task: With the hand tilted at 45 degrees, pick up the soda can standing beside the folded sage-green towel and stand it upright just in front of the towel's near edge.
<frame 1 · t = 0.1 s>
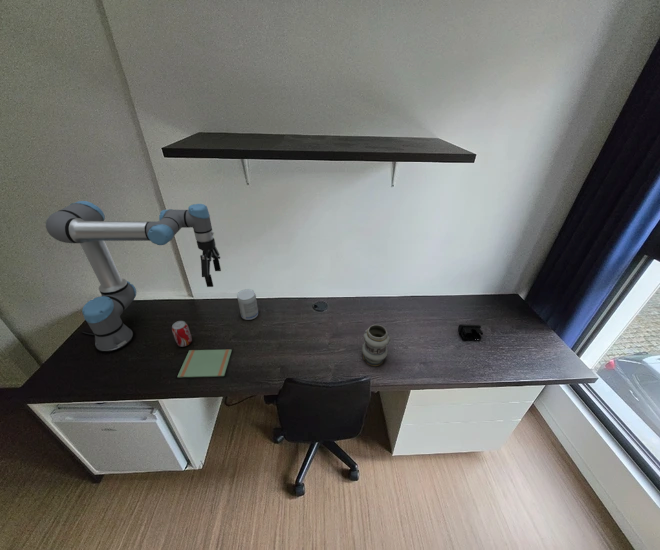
hand: (214, 278, 141), 28 cm above the table, tool pointing down, fingers open, 13 cm apart
soda can: (185, 343, 143), on the table
apothecary jar: (373, 358, 139), on the table
towel: (206, 363, 133), on the table
end cap: (468, 336, 153), on the table
supplement tub: (249, 315, 161), on the table
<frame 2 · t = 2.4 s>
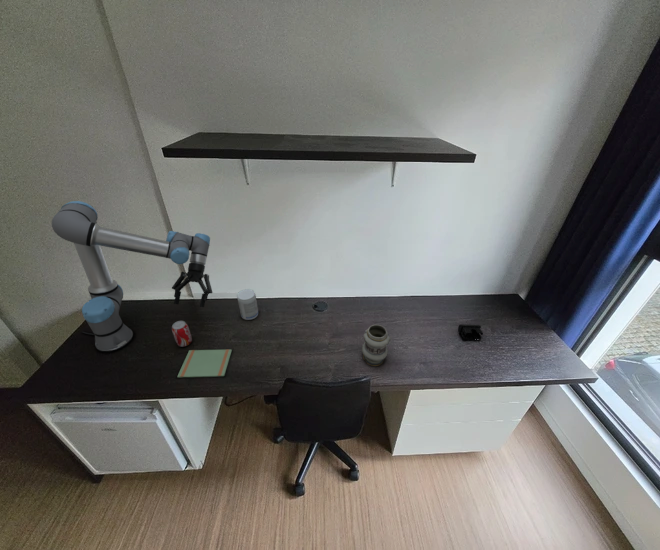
hand: (188, 305, 143), 15 cm above the table, tool tilted 45°, fingers open, 13 cm apart
nothing on the table moved.
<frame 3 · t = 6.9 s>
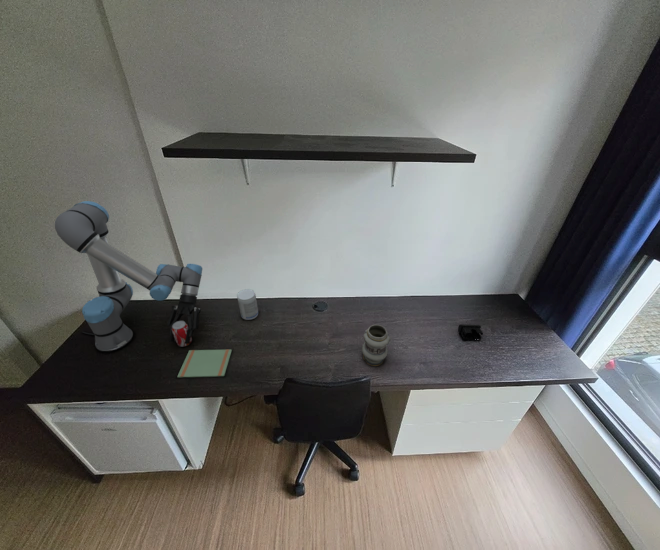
hand: (179, 342, 138), 4 cm above the table, tool tilted 45°, fingers closed on soda can, 7 cm apart
soda can: (185, 342, 143), on the table, touching gripper
everything else where it was.
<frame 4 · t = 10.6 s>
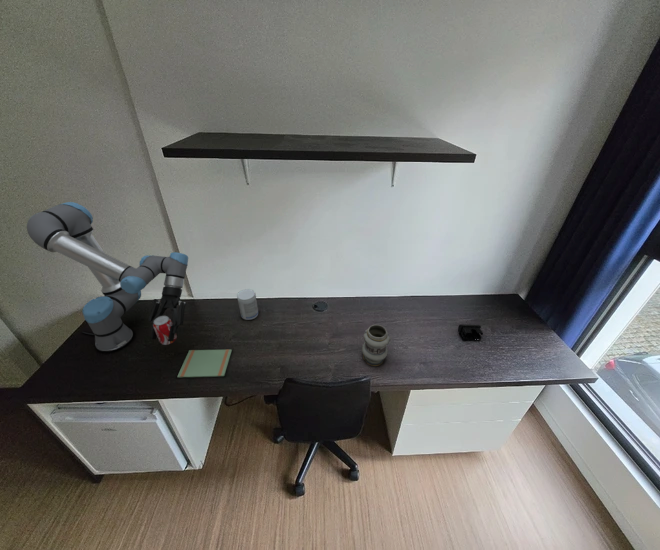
hand: (161, 340, 123), 16 cm above the table, tool tilted 45°, fingers closed on soda can, 7 cm apart
soda can: (169, 340, 128), point 12 cm above the table, touching gripper
everything else where it was.
when the fingers open (4 cm above the table, at t = 14.6 s): soda can stays where it is, on the table.
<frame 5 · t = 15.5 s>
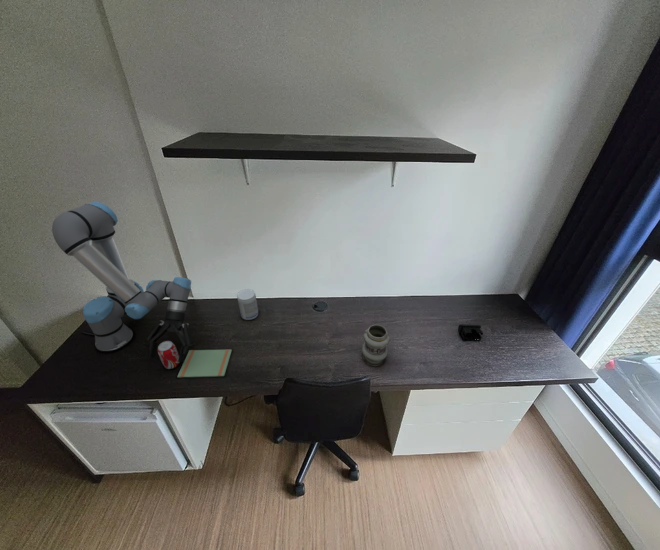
hand: (165, 359, 127), 6 cm above the table, tool tilted 45°, fingers open, 13 cm apart
soda can: (172, 364, 132), on the table
everything else where it was.
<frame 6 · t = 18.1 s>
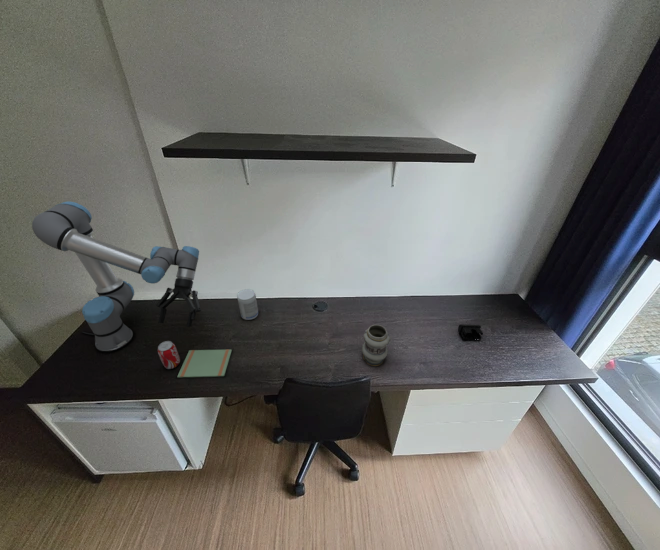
hand: (174, 325, 131), 15 cm above the table, tool tilted 45°, fingers open, 13 cm apart
nothing on the table moved.
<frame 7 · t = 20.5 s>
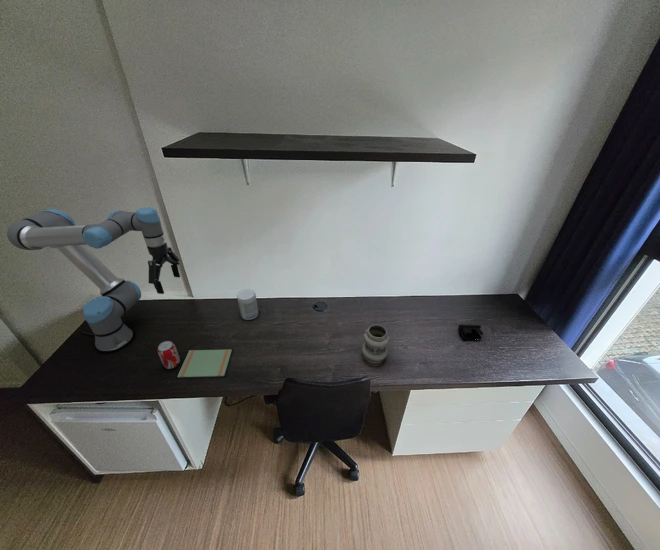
hand: (169, 284, 135), 28 cm above the table, tool pointing down, fingers open, 13 cm apart
nothing on the table moved.
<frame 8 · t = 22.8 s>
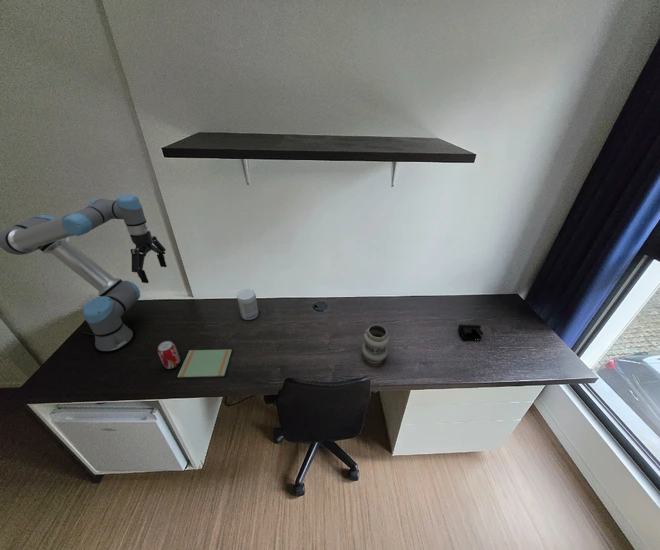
hand: (155, 274, 134), 33 cm above the table, tool pointing down, fingers open, 13 cm apart
nothing on the table moved.
at the end: soda can inside the target area (1.1 cm from its centre), on the table; soda can tilted 0°; the gripper is holding nothing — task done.
